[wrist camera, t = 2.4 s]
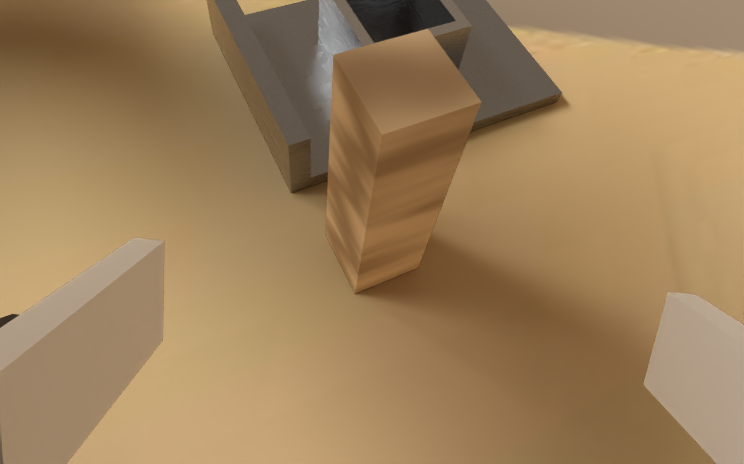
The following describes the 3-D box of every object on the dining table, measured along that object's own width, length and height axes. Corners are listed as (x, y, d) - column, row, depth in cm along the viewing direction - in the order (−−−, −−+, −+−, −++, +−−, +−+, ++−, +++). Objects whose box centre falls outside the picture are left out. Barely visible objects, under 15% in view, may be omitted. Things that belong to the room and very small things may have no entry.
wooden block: (325, 235, 35) (333, 54, 22) (386, 212, 37) (428, 28, 24) (354, 293, 33) (382, 134, 20) (418, 267, 35) (481, 102, 22)
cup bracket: (213, 33, 43) (199, -37, 38) (454, -26, 49) (470, -93, 44) (291, 192, 37) (287, 134, 31) (556, 101, 43) (590, 40, 38)
